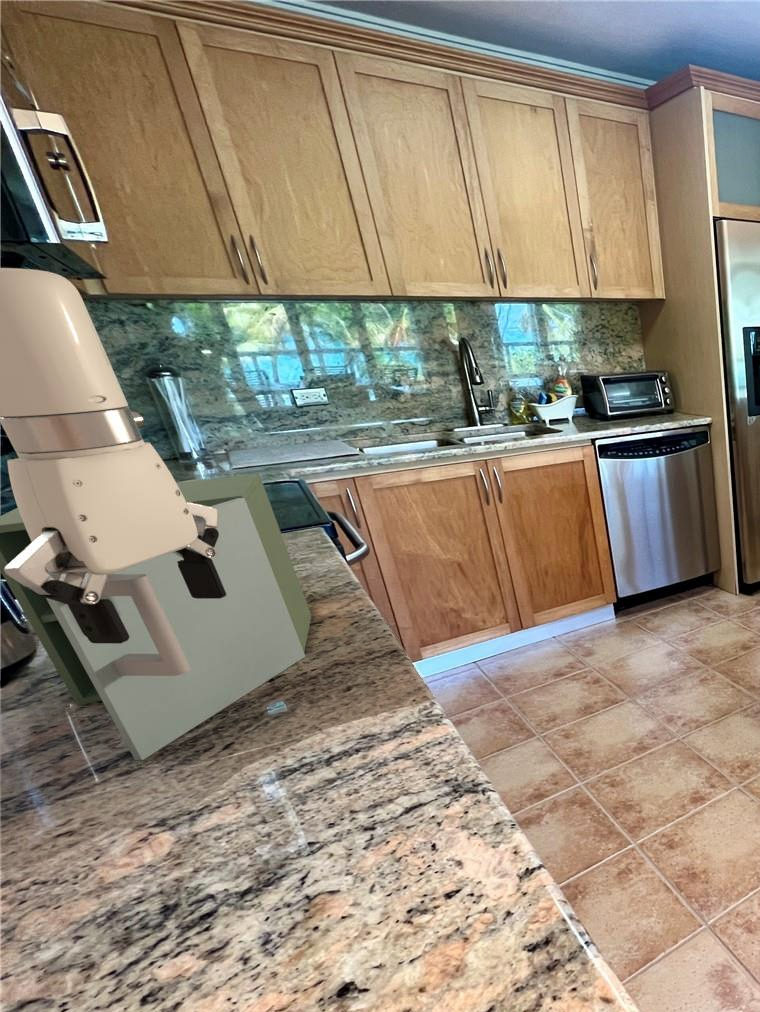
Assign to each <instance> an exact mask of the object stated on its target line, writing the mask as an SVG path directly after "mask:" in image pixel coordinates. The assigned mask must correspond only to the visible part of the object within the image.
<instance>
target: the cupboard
mask: <svg viewBox="0 0 760 1012" xmlns="http://www.w3.org/2000/svg"><path fill="white" fill-rule="evenodd" d="M206 479H207V480H198V481H189V482H182V481H179V482H180V483H178V482H176V483H177V485H178V487H179V489H180V491H181V493H182V495H183V497H184V498H185V500H186V502H190V503H195V504H200V505H204V506H209V507H210V506H214V505H217V504H220V503H224V502H227V501H230V500H234V499H237V498H245V501H246V503H247V506H248V508H249V511H250V514H251V516H252V519H253V521H254V524H255V527H256V529H257V532H258V534H259V537H260V540H261V542H262V545H263V547H264V550H265V553H266V555H267V558H268V560H269V563H270V566H271V568H272V571H273V573H274V576H275V579H276V581H277V584H278V586H279V589H280V592H281V594H282V597H283V599H284V602H285V605H286V607H287V610H288V612H289V615H290V618H291V620H292V623H293V625H294V628H295V631H296V633H297V636H298V638H299V641H300V644H301V646H302V649H303V651H304V652H305V650H306V646H307V645H306V644H307V640H308V636H309V631H310V625H311V621H312V613H311V610H310V608H309V605H308V603H307V599H306V597H305V594H304V591H303V589H302V586H301V583H300V581H299V578H298V574H297V572H296V570H295V567H294V564H293V562H292V558H291V556H290V553H289V551H288V548H287V546H286V542H285V539H284V537H283V535H282V532H281V529H280V527H279V524H278V521H277V519H276V516H275V513H274V510H273V507H272V505H271V502H270V500H269V497H268V494H267V491H266V489H265V486H264V483H263V481H262V477H261V475H260V473H251V474H243V475H235V476H234V475H233V476H226V477H225V476H224V477H218V478H206ZM31 543H32V541H31V539H30V537H29V535H28V532H27V530H26V528H25V525H24V522H23V520H22V517H21V515H20V512H19V509H18V507H16V508H14V509H12V510H10V511H8V512H5V513H4V514H2V515H0V574H1V575H2V577H3V578H4V581H5V582H6V583H7V585H8V587H9V589H10V591H11V592H12V594H13V596H14V597H15V599H16V601H17V603H18V605H19V606H20V609H21V610H22V612H23V613H24V615H25V617H26V619H27V621H28V622H29V624H30V626H31V628H32V629H33V631H34V633H35V635H36V636H37V638H38V640H39V642H40V643H41V645H42V647H43V649H44V650H45V652H46V653H47V656H48V657H49V660H50V661H51V662H52V664H53V666H54V668H55V670H56V671H57V673H58V675H59V677H60V678H61V680H62V682H63V684H64V685H65V687H66V689H67V691H68V692H69V694H70V696H71V699H72V700H73V701H74V703H75V704H76V706H77V707H78V706H83V705H88V704H92V703H97V702H101V701H102V699H101V697H100V696H99V694H98V692H97V690H96V688H95V686H94V685H93V683H92V681H91V679H90V677H89V676H88V674H87V672H86V670H85V668H84V666H83V665H82V663H81V661H80V659H79V657H78V655H77V654H76V652H75V650H74V648H73V646H72V645H71V643H70V641H69V639H68V637H67V635H66V634H65V632H64V630H63V628H62V626H61V624H60V623H59V621H58V619H57V617H56V615H55V613H54V612H53V610H52V608H51V606H50V604H49V603H48V601H47V599H46V598H45V597H42V596H39V595H36V594H33V593H32V592H31V591H30V588H28V587H25V586H23V585H22V584H20V583H19V582H17V581H16V580H14V579H13V578H11V577H9V576H8V575H7V574H6V573H5V571H4V570H5V567H6V566H7V565H8V564H9V563H10V562H11V561H12V560H13V559H15V558H16V557H17V556H18V555H19V554H20V553H21V552H22V551H23V550H24V549H25V548H27V547H28V546H29V545H30V544H31Z"/></svg>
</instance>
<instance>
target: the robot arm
mask: <svg viewBox="0 0 760 1012" xmlns="http://www.w3.org/2000/svg"><path fill="white" fill-rule="evenodd" d="M107 355H108V354H107V353H106V349H105V348H104V346H103V343H102V342H101V339H100V337H99V334H98V332H97V329H96V327H95V325H94V323H93V320H92V318H91V315H90V313H89V311H88V309H87V306H86V305H85V302H84V300H83V297H82V295H81V294H80V292H79V290H78V288H77V287H76V286H75V285H74V284H73V283H72V282H71V281H70V280H69V279H67V278H66V277H64V276H62V275H60V274H59V273H54V272H50V271H46V270H40V269H31V268H15V267H13V268H12V267H0V424H1V426H2V428H3V431H4V432H5V434H6V436H7V438H8V439H9V441H10V444H11V446H12V447H13V449H14V451H15V453H16V455H17V458H13V459H12V458H11V459H7V460H6V461H7V463H6V464H7V470H8V476H9V482H10V486H11V490H12V493H13V498H14V500H15V504H16V506H17V507H16V508H18V509H19V512H20V515H21V517H22V520H23V522H24V525H25V528H26V530H27V532H28V535H29V537H30V539H31V541H32V543H31V544H30V545H29V546H28V547H27V548H25V549H24V550H23V551H22V552H21V553H20V554H19V555H18V556H17V557H16V558H15V559H13V560H12V561H11V562H10V563H9V564H8V565H7V566H6V567H5V570H4V571H5V573H6V574H7V575H8V576H9V577H11V578H13V579H14V580H16V581H17V582H19V583H20V584H22V585H23V586H25V587H28V588H30V591H31V592H32V593H33V594H36V595H39V596H42V597H45V598H48V599H52V600H55V602H57V603H58V604H67V605H68V606H69V608H70V610H71V612H72V614H73V616H74V618H75V619H76V621H77V623H78V625H79V627H80V629H81V631H82V633H83V634H84V635H85V636H86V637H87V638H88V640H89V641H90V642H91V643H113V644H120V643H123V642H126V641H128V640H129V634H128V632H127V630H126V628H125V626H124V624H123V622H122V620H121V618H120V616H119V614H118V612H117V610H116V608H115V606H114V604H113V603H112V601H110V600H109V599H100V598H101V595H102V592H103V589H104V586H105V583H106V580H107V577H108V574H109V573H114V572H117V571H121V570H124V569H127V568H129V567H132V566H135V565H138V564H141V563H144V562H147V561H150V560H153V559H155V558H158V557H161V556H164V555H167V554H169V553H174V554H176V555H178V556H180V557H182V558H183V559H184V560H180V561H178V562H177V563H178V567H179V569H180V572H181V574H182V576H183V578H184V581H185V583H186V585H187V587H188V590H189V592H190V594H191V596H192V597H193V598H196V599H220V598H223V597H225V596H226V592H225V589H224V587H223V585H222V582H221V580H220V577H219V575H218V573H217V570H216V568H215V566H214V563H213V561H212V559H213V558H215V557H216V555H217V552H216V550H215V548H214V547H215V544H216V542H217V539H218V537H219V532H218V530H217V529H216V527H217V526H218V510H217V509H216V508H214V507H209V506H204V505H200V504H195V503H190V502H186V500H185V498H184V497H183V495H182V493H181V491H180V489H179V487H178V485H177V483H178V482H176V479H175V478H174V476H173V475H172V473H171V471H170V470H169V468H168V466H167V465H166V463H165V462H164V460H163V459H162V457H161V456H160V454H159V453H158V452H157V450H156V449H155V447H154V446H153V445H152V444H151V442H148V441H144V438H143V436H142V434H141V431H140V429H139V427H143V425H144V424H145V422H144V421H145V420H144V418H143V416H142V415H141V414H139V413H138V412H136V411H131V408H130V407H129V403H128V401H127V399H126V396H125V394H124V392H123V389H122V387H121V385H120V382H119V380H118V378H117V376H116V374H115V371H114V368H113V366H112V365H111V361H110V359H109V357H108V356H107ZM46 569H47V570H48V571H49V572H51V573H53V574H61V576H60V579H59V580H55V579H54V578H52V577H51V575H50V574H48V573H47V572H46ZM83 576H85V577H84V580H83ZM82 580H83V583H82ZM81 583H82V586H81ZM80 586H81V588H80Z"/></svg>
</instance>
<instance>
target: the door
mask: <svg viewBox="0 0 760 1012" xmlns="http://www.w3.org/2000/svg"><path fill="white" fill-rule="evenodd" d="M210 507H214V508H216V509H217V510H218V526H217V527H216V529H217V530H218V532H219V537H218V539H217V542H216V544H215V547H214V548H215V550H216V552H217V555H216V557H215V558H213V559H212V561H213V563H214V566H215V568H216V570H217V573H218V575H219V577H220V580H221V582H222V585H223V587H224V589H225V592H226V596H225V597H223V598H220V599H196V598H193V597H192V596H191V594H190V592H189V590H188V587H187V585H186V583H185V581H184V578H183V576H182V574H181V572H180V569H179V567H178V563H177V562H178V561H180V560H184V559H183V558H182V557H180V556H178V555H176V554H174V553H169V554H167V555H164V556H161V557H158V558H155V559H153V560H150V561H147V562H144V563H141V564H138V565H135V566H132V567H129V568H127V569H124V570H121V571H117V572H114V573H109V574H108V577H107V580H106V583H105V586H104V589H103V592H102V595H101V598H100V599H109V600H110V601H112V603H113V604H114V606H115V608H116V610H117V612H118V614H119V616H120V618H121V620H122V622H123V624H124V626H125V628H126V630H127V632H128V634H129V640H128V641H126V642H123V643H120V644H113V643H91V642H90V641H89V640H88V638H87V637H86V636H85V635H84V634H83V633H82V631H81V629H80V627H79V625H78V623H77V621H76V619H75V618H74V616H73V614H72V612H71V610H70V608H69V606H68V605H67V604H58V603H57V602H55V600H52V599H48V598H46V599H47V601H48V603H49V604H50V606H51V608H52V610H53V612H54V613H55V615H56V617H57V619H58V621H59V623H60V624H61V626H62V628H63V630H64V632H65V634H66V635H67V637H68V639H69V641H70V643H71V645H72V646H73V648H74V650H75V652H76V654H77V655H78V657H79V659H80V661H81V663H82V665H83V666H84V668H85V670H86V672H87V674H88V676H89V677H90V679H91V681H92V683H93V685H94V686H95V688H96V690H97V692H98V694H99V696H100V697H101V699H102V700H101V701H102V703H103V705H104V706H105V708H106V710H107V712H108V714H109V716H110V717H111V719H112V721H113V724H114V725H115V726H116V729H117V730H118V732H119V734H120V735H121V738H122V740H123V741H124V743H125V745H126V747H127V748H128V751H129V752H130V754H131V756H132V757H133V759H134V761H136V762H137V761H138V762H139V761H141V762H142V761H144V760H145V759H148V758H149V757H150V756H152V755H154V754H155V753H157V752H158V751H160V750H162V749H163V748H164V747H166V746H167V745H169V744H171V743H173V742H174V741H176V740H177V739H178V738H180V737H182V736H183V735H185V734H186V733H188V732H189V731H191V730H194V728H196V727H197V726H199V725H200V724H202V723H204V722H205V721H206V720H208V719H210V718H212V717H213V716H215V715H217V714H218V713H220V712H221V711H222V710H224V709H225V708H228V707H229V706H230V705H232V704H233V703H235V702H237V701H239V700H240V699H241V698H243V697H244V696H246V695H247V694H249V693H252V691H254V690H255V689H258V688H259V687H260V686H262V685H263V684H265V683H266V682H268V681H269V680H271V679H273V678H275V677H276V676H277V675H279V674H281V673H282V672H284V671H285V670H287V669H289V668H290V667H291V666H293V665H295V664H296V663H298V662H300V661H301V660H302V659H304V658H306V654H305V650H304V651H303V649H302V646H301V644H300V641H299V638H298V636H297V633H296V631H295V628H294V625H293V623H292V620H291V618H290V615H289V612H288V610H287V607H286V605H285V602H284V599H283V597H282V594H281V592H280V589H279V586H278V584H277V581H276V579H275V576H274V573H273V571H272V568H271V566H270V563H269V560H268V558H267V555H266V553H265V550H264V547H263V545H262V542H261V540H260V537H259V534H258V532H257V529H256V527H255V524H254V521H253V519H252V516H251V514H250V511H249V508H248V506H247V503H246V501H245V498H237V499H234V500H230V501H227V502H224V503H220V504H217V505H214V506H210ZM46 572H47V573H48V574H50V575H51V577H52V578H54V579H55V580H59V579H60V576H61V574H53V573H51V572H49V571H48V570H47V569H46ZM84 577H85V576H83V580H84ZM83 580H82V583H83ZM82 583H81V586H82ZM81 586H80V588H81Z"/></svg>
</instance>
